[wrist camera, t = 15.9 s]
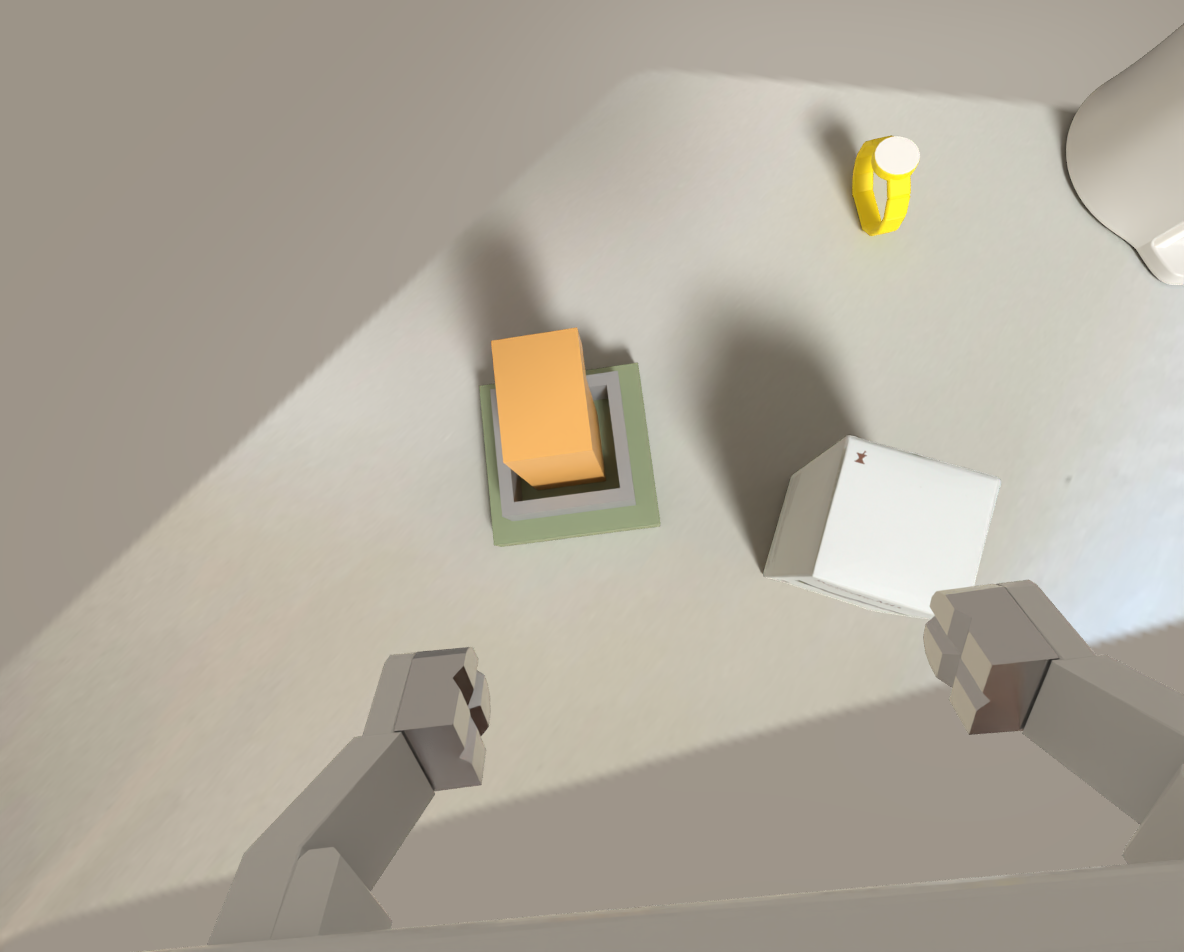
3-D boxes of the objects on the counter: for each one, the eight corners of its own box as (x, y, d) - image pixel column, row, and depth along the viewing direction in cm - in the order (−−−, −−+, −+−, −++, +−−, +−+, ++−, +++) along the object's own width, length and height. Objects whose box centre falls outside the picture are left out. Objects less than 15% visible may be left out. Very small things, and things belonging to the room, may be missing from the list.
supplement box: (759, 577, 42) (804, 576, 30) (790, 472, 43) (847, 427, 30) (871, 615, 41) (967, 629, 28) (901, 506, 42) (1006, 474, 29)
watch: (836, 181, 46) (861, 118, 41) (874, 173, 46) (905, 108, 40) (858, 253, 45) (887, 197, 39) (898, 244, 45) (933, 188, 39)
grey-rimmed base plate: (638, 372, 45) (636, 346, 40) (660, 526, 43) (661, 519, 38) (486, 394, 46) (466, 371, 41) (501, 546, 44) (482, 542, 39)
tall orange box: (606, 481, 42) (592, 450, 32) (537, 490, 42) (503, 462, 32) (593, 385, 43) (577, 327, 33) (527, 395, 43) (490, 340, 33)
